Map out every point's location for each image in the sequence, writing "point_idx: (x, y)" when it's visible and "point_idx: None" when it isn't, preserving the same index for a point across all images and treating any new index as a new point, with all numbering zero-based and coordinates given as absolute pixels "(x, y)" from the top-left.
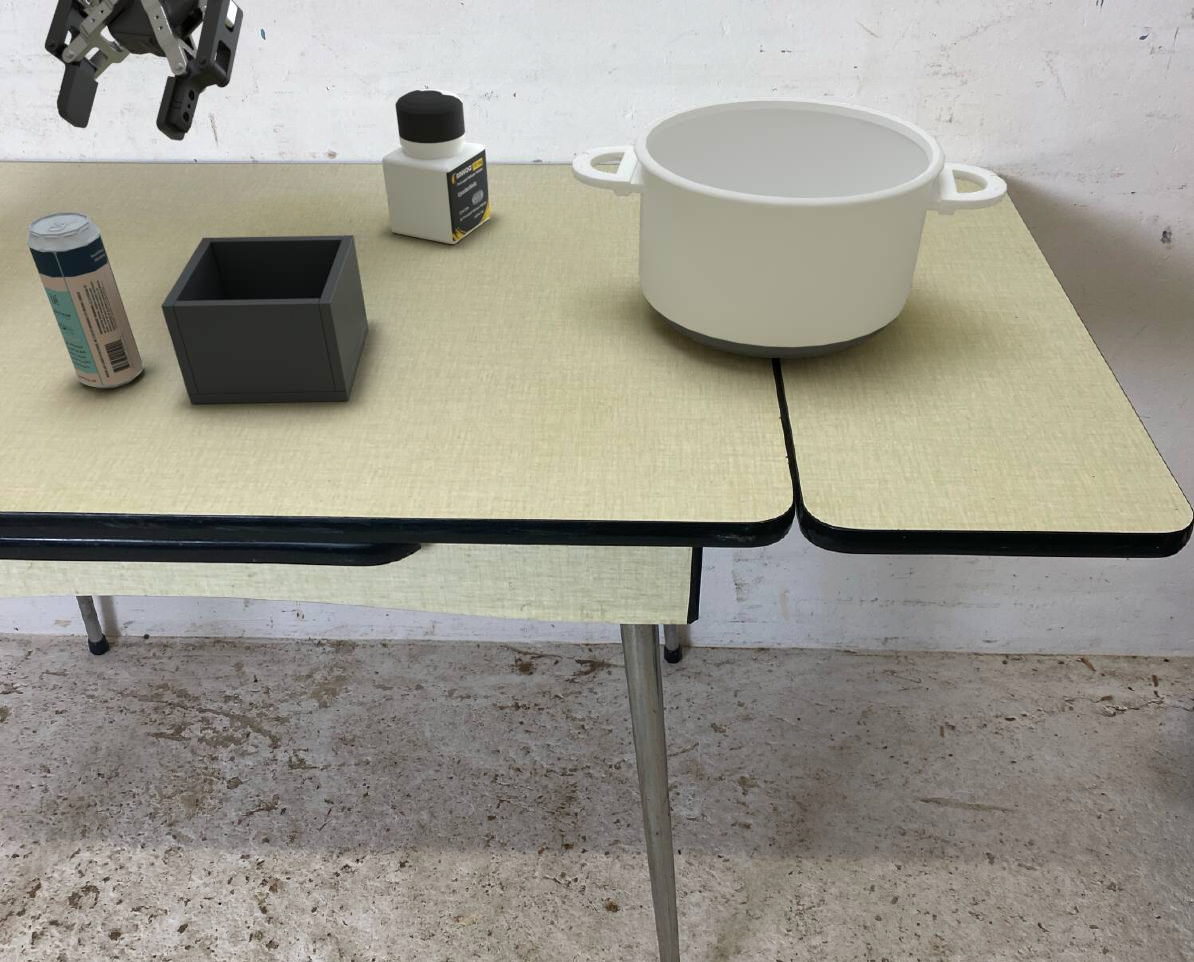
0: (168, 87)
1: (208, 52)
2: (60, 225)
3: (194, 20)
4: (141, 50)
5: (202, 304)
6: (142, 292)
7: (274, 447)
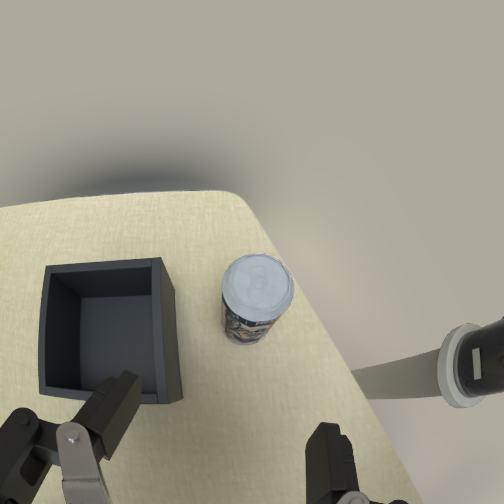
0: (103, 414)
1: (9, 425)
2: (257, 277)
3: None
4: None
5: (129, 261)
6: (284, 455)
7: (115, 245)
